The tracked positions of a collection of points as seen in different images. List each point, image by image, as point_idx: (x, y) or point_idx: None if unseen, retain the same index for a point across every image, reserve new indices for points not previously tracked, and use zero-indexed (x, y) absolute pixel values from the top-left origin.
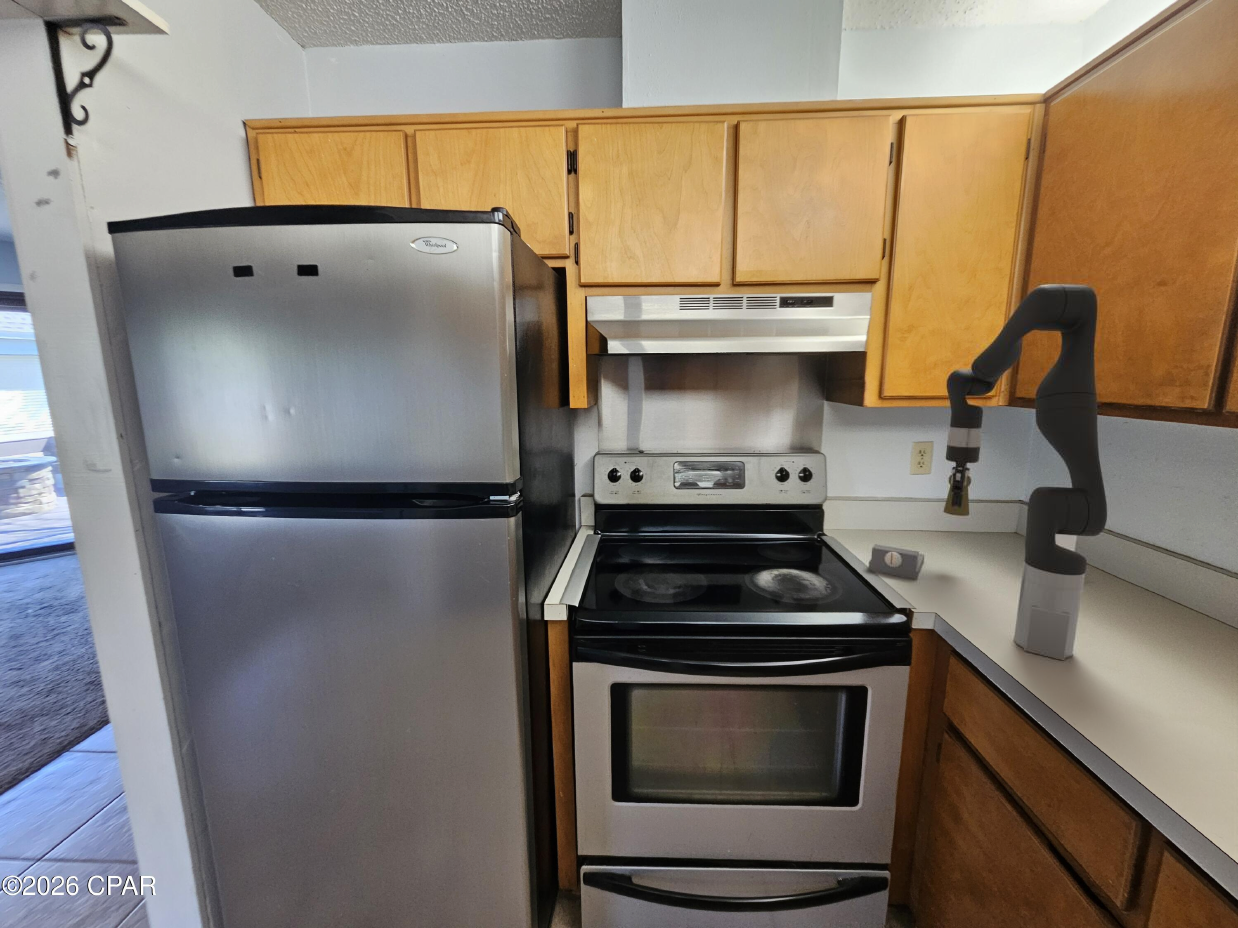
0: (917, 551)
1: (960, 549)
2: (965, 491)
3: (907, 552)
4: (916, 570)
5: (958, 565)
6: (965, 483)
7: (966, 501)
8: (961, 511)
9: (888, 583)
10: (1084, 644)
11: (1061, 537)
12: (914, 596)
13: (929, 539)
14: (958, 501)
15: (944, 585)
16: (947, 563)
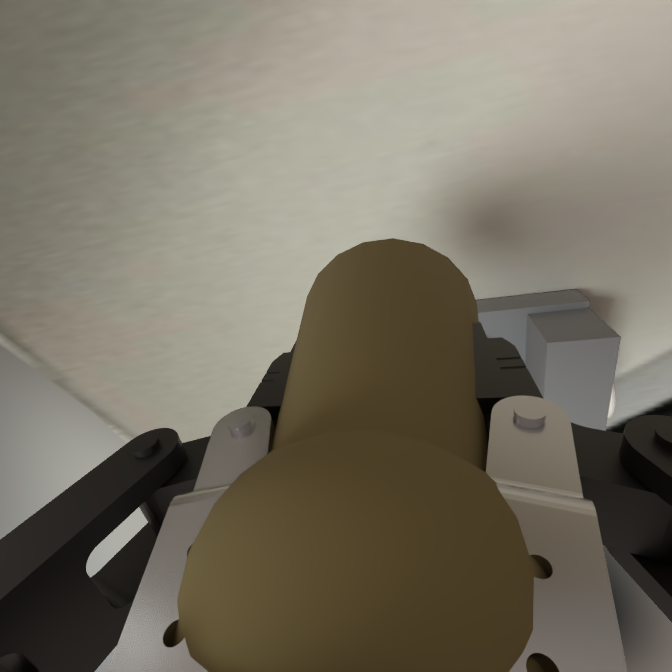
0: (549, 346)
1: (131, 252)
2: (445, 398)
3: (590, 372)
4: (579, 306)
5: (311, 216)
6: (597, 539)
7: (432, 310)
8: (470, 295)
9: (669, 347)
10: None
11: None
12: None
13: (120, 347)
14: (520, 370)
15: (583, 201)
16: (318, 250)
